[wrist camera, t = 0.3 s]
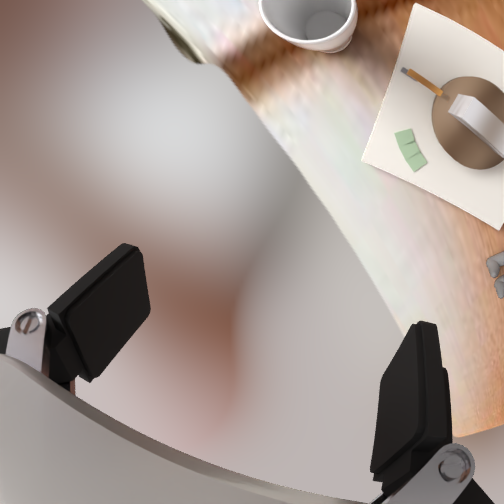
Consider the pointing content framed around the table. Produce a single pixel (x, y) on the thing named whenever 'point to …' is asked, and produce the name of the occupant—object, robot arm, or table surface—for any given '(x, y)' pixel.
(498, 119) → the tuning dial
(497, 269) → the alien figure
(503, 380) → the table surface
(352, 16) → the white cup
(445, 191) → the white square board
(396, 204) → the table surface
